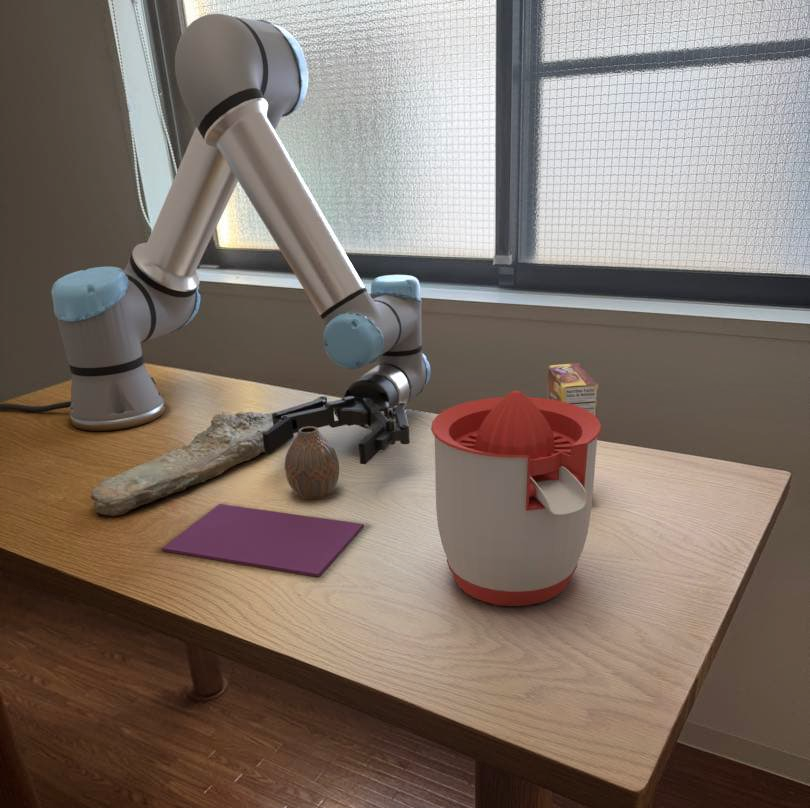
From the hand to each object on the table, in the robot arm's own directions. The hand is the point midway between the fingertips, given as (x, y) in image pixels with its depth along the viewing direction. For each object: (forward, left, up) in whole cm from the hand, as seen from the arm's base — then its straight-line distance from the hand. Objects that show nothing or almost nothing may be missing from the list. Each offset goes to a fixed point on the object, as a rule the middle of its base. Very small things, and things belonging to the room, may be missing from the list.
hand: (313, 449), depth 97 cm
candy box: (+31, +8, -6) cm, 33 cm away
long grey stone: (-19, +2, -6) cm, 20 cm away
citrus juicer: (+30, -15, -6) cm, 34 cm away
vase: (0, -1, -6) cm, 6 cm away
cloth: (0, -14, -6) cm, 15 cm away
